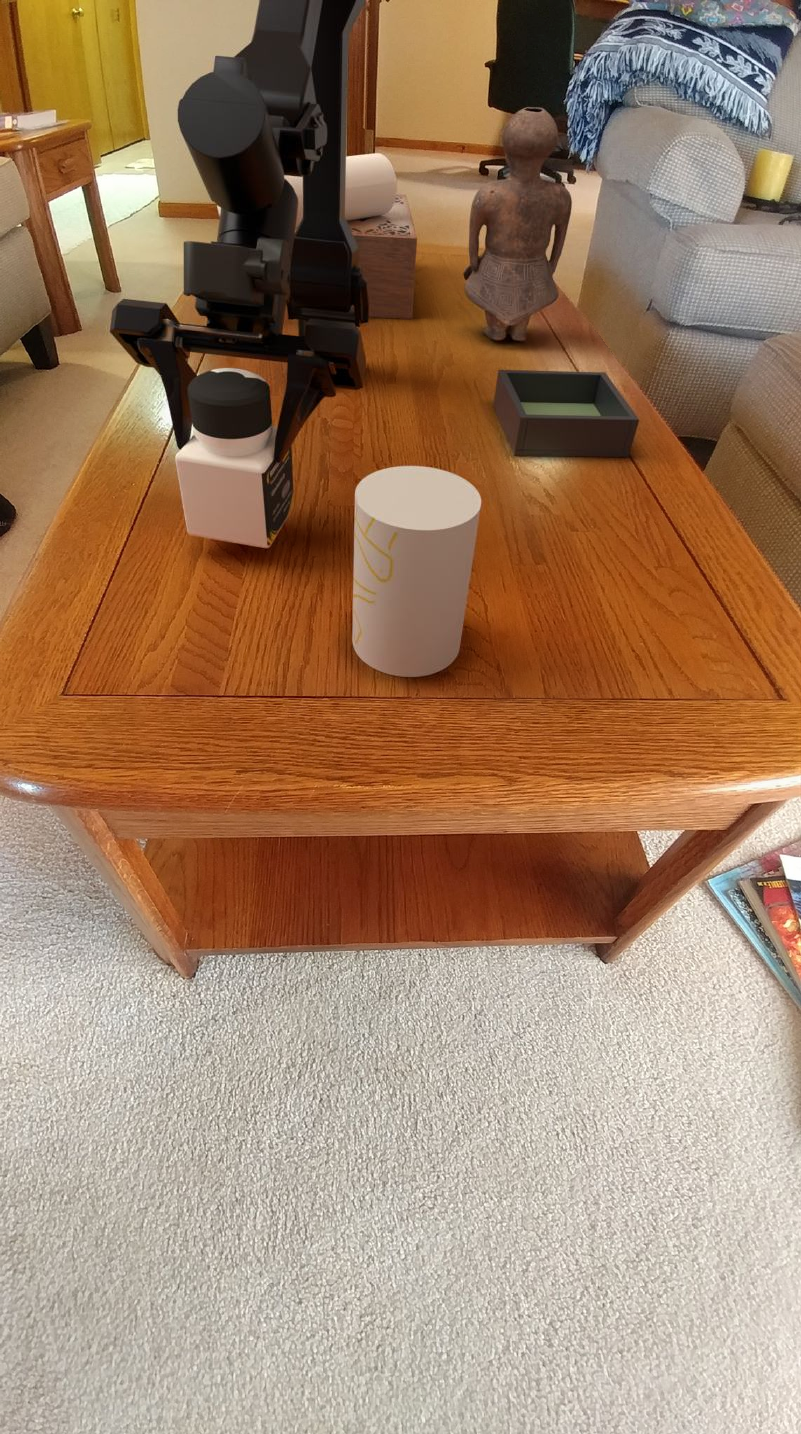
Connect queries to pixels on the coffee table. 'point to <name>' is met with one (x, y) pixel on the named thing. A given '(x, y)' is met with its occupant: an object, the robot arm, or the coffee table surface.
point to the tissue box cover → (388, 259)
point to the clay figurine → (518, 230)
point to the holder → (564, 414)
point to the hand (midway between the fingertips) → (229, 455)
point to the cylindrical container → (359, 187)
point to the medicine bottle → (233, 461)
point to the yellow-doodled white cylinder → (412, 567)
